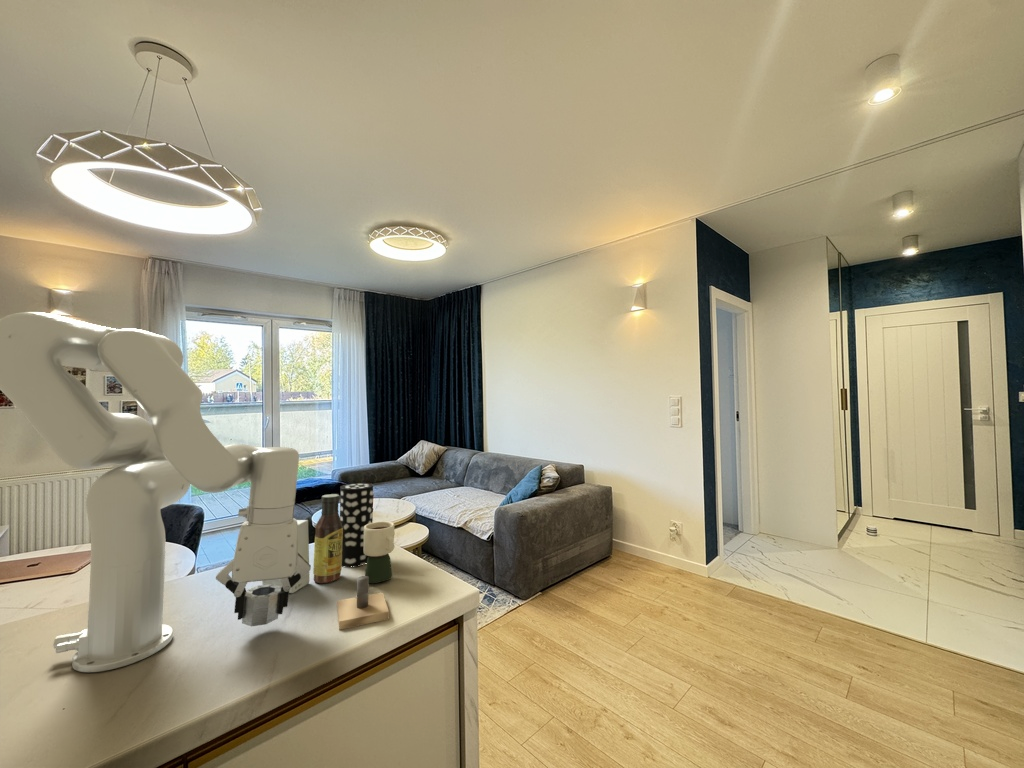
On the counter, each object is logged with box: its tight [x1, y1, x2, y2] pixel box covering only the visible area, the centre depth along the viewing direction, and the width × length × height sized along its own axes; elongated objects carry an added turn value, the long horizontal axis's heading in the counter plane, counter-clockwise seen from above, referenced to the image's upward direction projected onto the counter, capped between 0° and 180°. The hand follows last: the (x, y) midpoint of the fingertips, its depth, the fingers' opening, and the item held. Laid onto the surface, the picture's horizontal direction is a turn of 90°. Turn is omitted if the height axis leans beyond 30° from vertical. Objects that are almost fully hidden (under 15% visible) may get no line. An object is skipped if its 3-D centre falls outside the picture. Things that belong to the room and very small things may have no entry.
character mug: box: [363, 521, 396, 584], centre depth 99 cm, size 11×7×13 cm, turn 51°
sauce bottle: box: [313, 493, 343, 584], centre depth 100 cm, size 6×6×20 cm
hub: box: [241, 584, 281, 627], centre depth 76 cm, size 6×6×5 cm
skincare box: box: [261, 519, 310, 594], centre depth 95 cm, size 8×6×15 cm
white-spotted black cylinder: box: [339, 482, 374, 568], centre depth 111 cm, size 8×8×20 cm
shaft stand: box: [336, 575, 390, 631], centre depth 83 cm, size 9×9×7 cm
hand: (261, 612), depth 76 cm, fingers closed on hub, 5 cm apart
